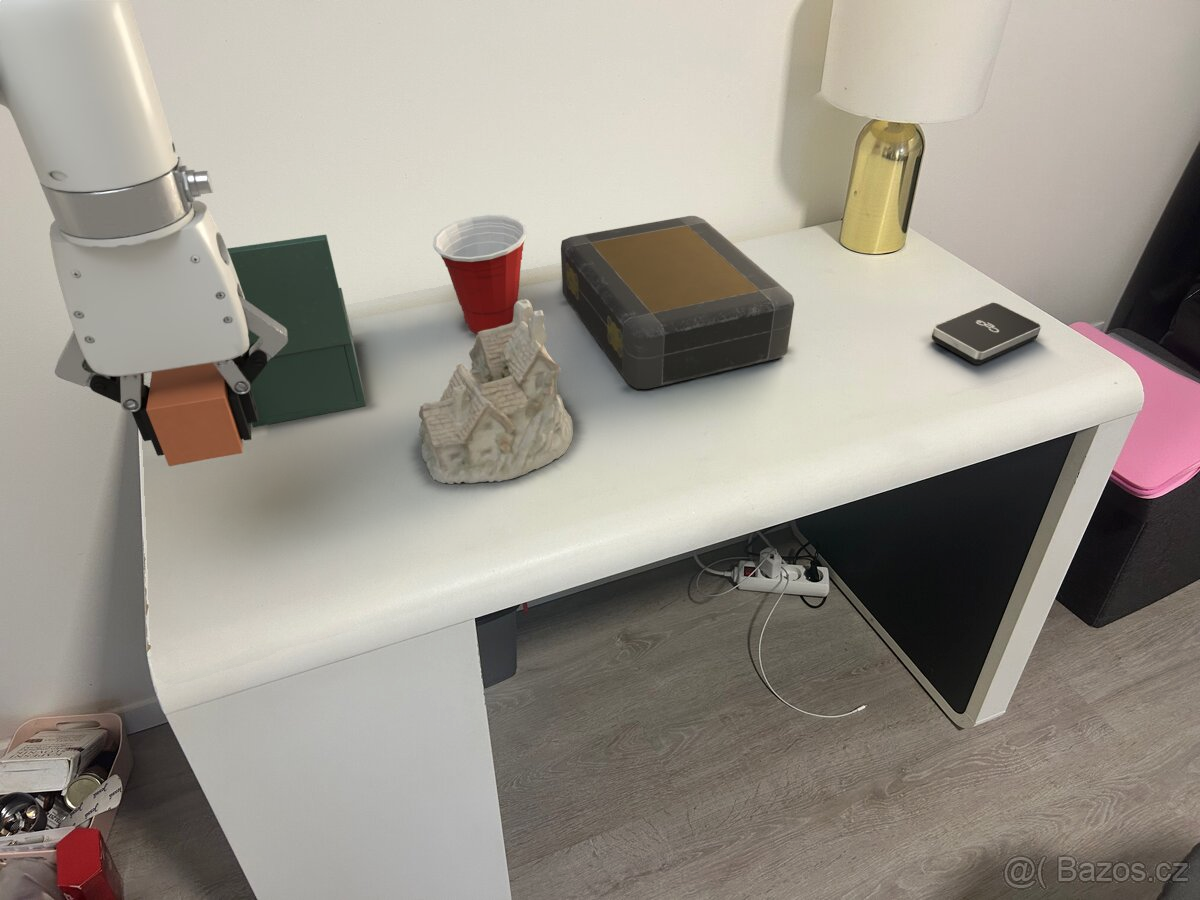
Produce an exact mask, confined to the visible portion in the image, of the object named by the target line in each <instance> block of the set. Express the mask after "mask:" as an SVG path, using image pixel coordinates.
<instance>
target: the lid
mask: <svg viewBox="0 0 1200 900" xmlns="http://www.w3.org/2000/svg"><path fill="white" fill-rule="evenodd" d="M227 250H228V252H229V255H230V258H231V260H232V263H233V266H234V268H235V271H236V274H237V277H238V280H239V283H240V286H241V288H242V291H243V294H244V297H245V300H247V301H248V302H249V303H251V304H252V305H254V306H255V307H257V308H258V309H259V310H261V311H262V312H264V313H265V314H267V315H268V316H269V317H271V318H272V319H274V320H275V321H277V322H278V323H279V324H281V325H282V326H284V327H285V328H286V330H287V336H288V342H287V344H286V345H285V346H284V347H283V348H282V349H281V350H280V351H279V352H278V353H277V354H276V355H282V354H287V353H293V352H299V351H305V350H311V349H316V348H322V347H328V346H334V345H340V344H345V343H351V337H350V333H349V328H348V324H347V320H346V316H345V311H344V307H343V303H342V299H341V294H340V290H339V288H340V287H339V282H338V279H337V278H338V277H337V273H336V268H335V266H334V261H333V257H332V253H331V249H330V244H329V240H328V235H327V234H319V235H312V236H304V237H297V238H291V239H283V240H276V241H270V242H261V243H256V244H248V245H242V246H235V247H227ZM248 337H249V347H250V345H252V344H253V343H256V342H257V341H258V339H259V338H260V337H259V336H257V335H256V334H254V333H253V332H251V331H250V330H248ZM242 355H243V354H242ZM276 355H275V356H276Z"/></svg>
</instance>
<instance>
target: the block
mask: <svg viewBox="0 0 1200 900" xmlns="http://www.w3.org/2000/svg"><path fill="white" fill-rule="evenodd" d="M149 387H150V389H149V395H148V402H147V409H146V411H147V413H148V416H149V418H150V421H151V423H152V426H153V428H154V431H155V433H156V436H157V438H158V441H159V443H160V446H161V448H162V451H163V453H164V455H163V456H164V458H165V460H166V463H167V466H168V467H172V466H178V465H185V464H189V463H196V462H201V461H207V460H211V459H217V458H222V457H223V458H224V457H228V456H233V455H239V454H243V439H241V438H240V435H239V432H238V429H237V426H236V423H235V420H234V417H233V414H232V410H231V407H230V404H229V401H228V383H227V382H226V380H225V379H224V378H223V376H222V375H221V374H220V372H219V371H218V370H217V368H216V367H215V366H214V364H213V363H208V364H201V365H195V366H189V367H182V368H176V369H169V370H163V371H156V372H151V376H150V384H149Z"/></svg>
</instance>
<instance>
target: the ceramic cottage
mask: <svg viewBox="0 0 1200 900" xmlns="http://www.w3.org/2000/svg"><path fill="white" fill-rule="evenodd" d="M544 321H545V313H544V312H543V309H539V310H535V311H534V309H533V305H532V304H531V302H530V301H529V299H526V298H524V299H520V300H519V299H518V301H517V302H516V303H515V305H514V315H513V322H511V323H510V324H507V325H503V326H500V327H497V328H493V329H488V330H483V331H480V332H477V333H478V334H477V333H476V334H477V335H476V336H475V340H474V344H473V346H472V349H470V351H469V353H468V355H469V357H470V360H471V362H472V363H471V369H470V370H468V369H467V368H466V367H465V366H464V364H462V363H459V364H456V370H453V372H452V373H453V375H452V376H451V377H450V378H449V380H448V383H449V384H448V385H447V388H445V389H444V391H443V392H442V396H441V397H440V399H439V400H438V401H435V402H424V403H423V404H422V405H421V406H419V411H418V416H419V419H421V422H420V427H419V429H418V432H419V433H418V436H419V438H421V441H422V444H421V450H420V451H421V452H420V453H421V458H422V460H423V462H424V463H425V464H426V467H427V470H428V472H429V475H430V476H431V477H432V479H433V481H435V480H436V481H437V482H439V483H442V484H446V483H447V484H448V485H449V484H450V485H453V484H455V483H456V484H461V483H465V484H475V483H484V482H486V483H487V482H488V483H493V482H497V483H499V482H502V481H508V480H511V479H516V478H518V477H520V476H523V475H528V474H529V472H532V471H534V470H539V469H540V468H543V467H545V466H547V465H548V464H550V463H553V461H554V460H555V459H556V460H558V458H561V456H563V455H565V454H566V452H567V451H568V449H569V447H570V445H571V443H572V441H573V436H574V424H573V420H572V416H571V415H570V414H569V412H568V410H567V409H565V405H564V401H563V398H562V396H561V395H560V394H559V393H558V377H559V375H560V374H561V372H562V370H561V367H560V365H559V364H558V363H557V362H555V361H554V360H553V358H552V357H551V355H550V354H549V353H548V351H547V348H546V347H545V343H546V340H547V333H546V329H545V328H546V327H545V325H544Z"/></svg>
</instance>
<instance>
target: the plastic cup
mask: <svg viewBox="0 0 1200 900" xmlns="http://www.w3.org/2000/svg"><path fill="white" fill-rule="evenodd" d="M527 235H528V233H527V225H526V224H525V223H524V222H523V221H521V220H520V219H519V218H517V217H516V218H515V217H512V216H509V215H504V214H482V215H476V216H470V217H466V218H463V219H460V220H456V221H454V222H452V223H450V224H449V225H447V226H444V227H443V228H441V229H440V230H439V231H438V233H436V234H435V236H433V242H432V247H433V249H434V250H435V251H436V253H438V255H440V257H441V260H442V261H443V263H444V266H445V267H446V269H447V271H448V274H449V277H450V281H451V283H452V286H453V289H454V292H455V295H456V298H457V301H458V304H459V305H460V307H461V310H462V314H463V317H464V320H465V323H466V324H467V327H468V329H469V330H470V331H471V332H472V333H474V334H478V333H477V332H480V331H483V330H488V329H493V328H497V327H500V326H503V325H507V324H510V323H511V322H513V315H514V305H515V303H516V302H517V301H519V291H520V281H521V280H520V278H521V269H522V268H521V267H522V260H523V251H524V244H525V240H526V239H527Z"/></svg>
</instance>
